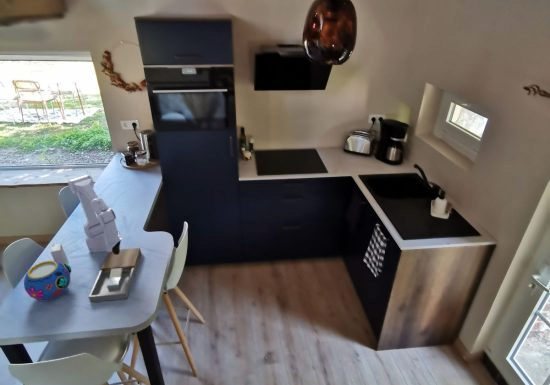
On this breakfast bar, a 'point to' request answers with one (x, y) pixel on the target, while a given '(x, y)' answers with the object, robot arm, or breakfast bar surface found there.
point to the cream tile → (116, 273)
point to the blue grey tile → (114, 282)
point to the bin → (105, 294)
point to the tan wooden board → (122, 259)
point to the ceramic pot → (47, 280)
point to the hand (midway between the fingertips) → (117, 253)
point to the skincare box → (59, 254)
